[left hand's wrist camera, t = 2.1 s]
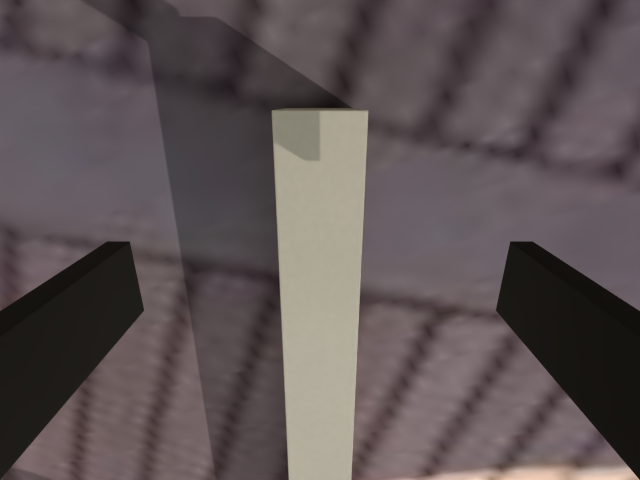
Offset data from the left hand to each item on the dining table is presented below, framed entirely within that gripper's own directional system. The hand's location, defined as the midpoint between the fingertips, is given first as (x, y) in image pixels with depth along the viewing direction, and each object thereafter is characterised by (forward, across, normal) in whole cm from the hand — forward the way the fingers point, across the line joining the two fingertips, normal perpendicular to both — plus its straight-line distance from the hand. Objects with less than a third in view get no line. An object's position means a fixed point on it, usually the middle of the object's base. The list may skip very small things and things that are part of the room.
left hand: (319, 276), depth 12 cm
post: (+14, 0, -26) cm, 30 cm away
